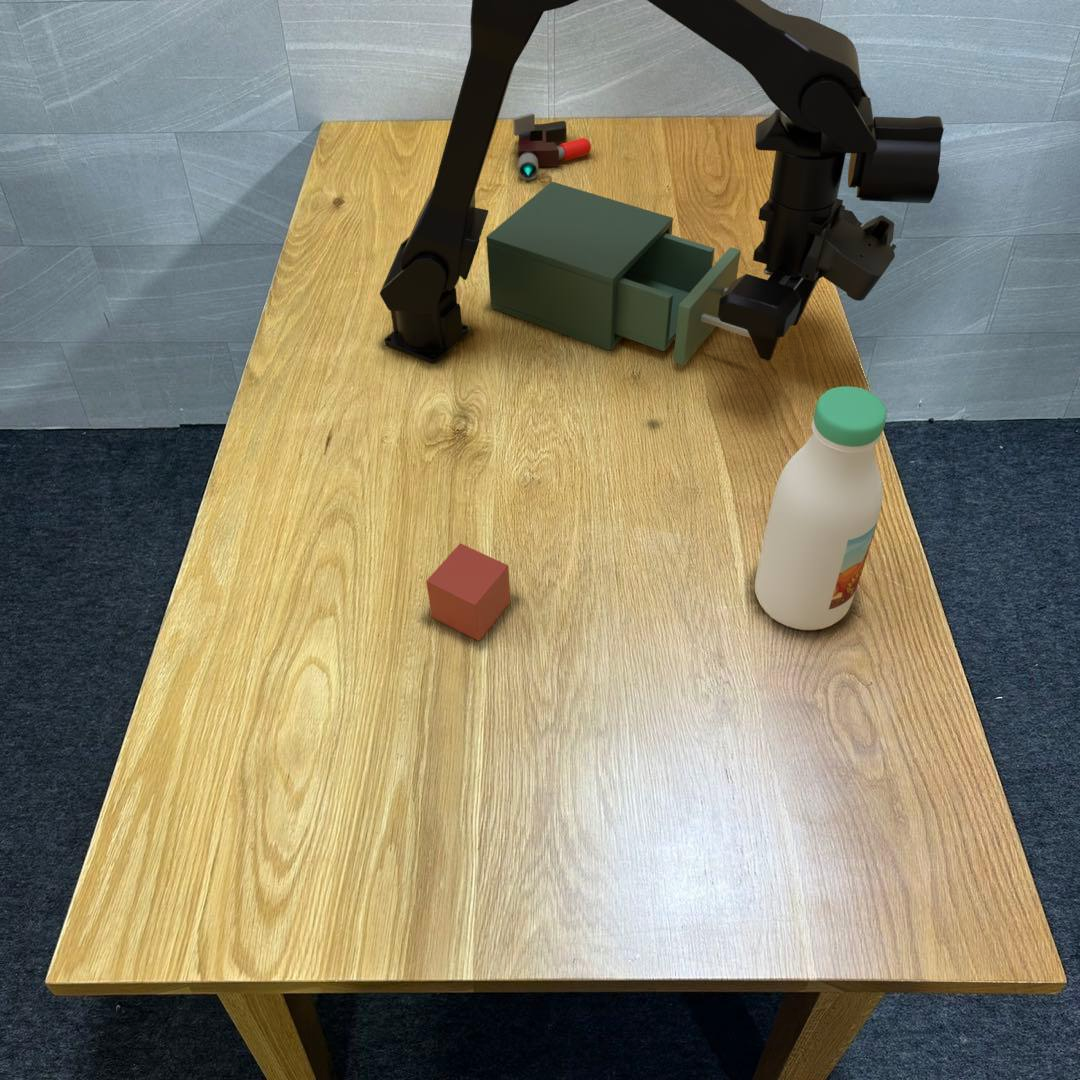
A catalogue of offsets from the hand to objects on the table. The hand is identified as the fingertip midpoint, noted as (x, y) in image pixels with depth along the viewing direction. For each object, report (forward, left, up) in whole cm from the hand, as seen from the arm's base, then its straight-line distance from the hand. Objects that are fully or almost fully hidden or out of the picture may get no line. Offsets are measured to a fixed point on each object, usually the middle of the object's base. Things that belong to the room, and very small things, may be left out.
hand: (778, 341), depth 101 cm
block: (-8, -41, -3) cm, 42 cm away
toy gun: (-40, +24, -3) cm, 47 cm away
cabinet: (-22, 0, -3) cm, 23 cm away
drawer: (-10, 0, -2) cm, 10 cm away
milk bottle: (+14, -26, -3) cm, 30 cm away
